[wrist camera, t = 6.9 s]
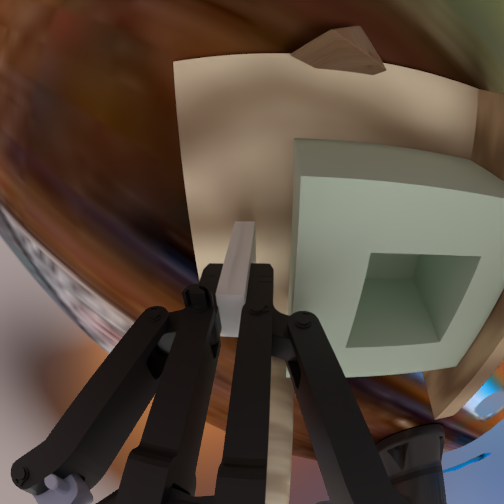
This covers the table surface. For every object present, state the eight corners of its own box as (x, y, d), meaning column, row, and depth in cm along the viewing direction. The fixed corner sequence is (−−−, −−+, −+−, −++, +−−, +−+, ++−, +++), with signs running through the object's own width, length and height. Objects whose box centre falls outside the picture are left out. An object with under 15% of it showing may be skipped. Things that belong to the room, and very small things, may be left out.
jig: (425, 328, 24) (453, 415, 16) (211, 326, 26) (186, 422, 18) (490, 95, 12) (595, 133, 4) (178, 62, 14) (75, 57, 6)
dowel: (293, 372, 29) (285, 515, 16) (256, 371, 30) (237, 512, 17) (296, 351, 27) (289, 512, 14) (255, 349, 28) (233, 508, 14)
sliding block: (428, 299, 21) (456, 366, 15) (287, 299, 22) (285, 377, 16) (470, 159, 14) (535, 205, 8) (294, 137, 15) (300, 176, 10)
